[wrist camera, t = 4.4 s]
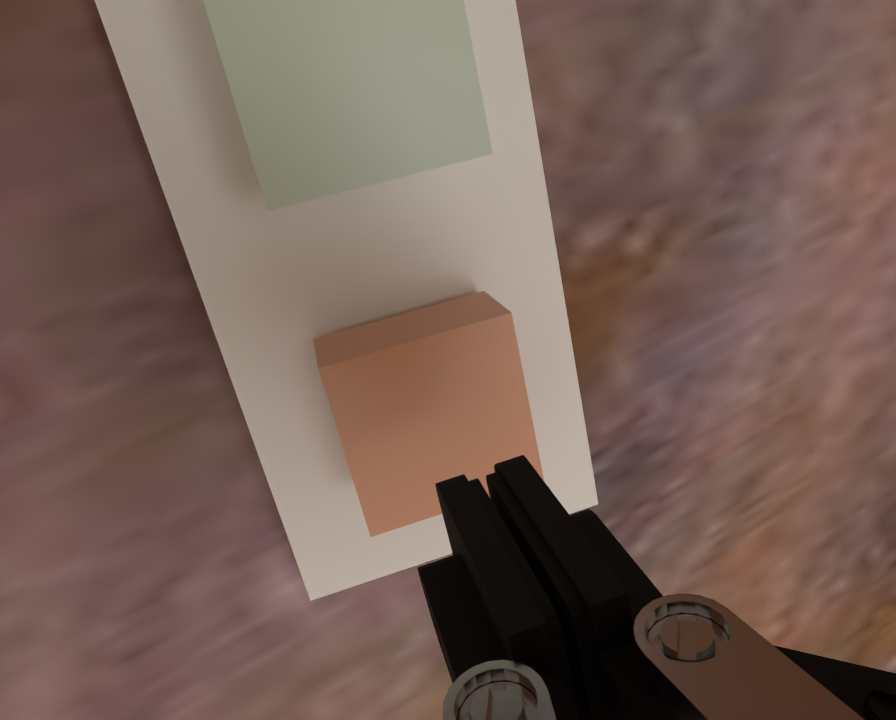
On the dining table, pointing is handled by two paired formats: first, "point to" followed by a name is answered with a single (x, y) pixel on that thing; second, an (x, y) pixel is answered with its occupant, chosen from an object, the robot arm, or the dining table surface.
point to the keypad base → (352, 272)
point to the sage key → (349, 90)
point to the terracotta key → (426, 404)
